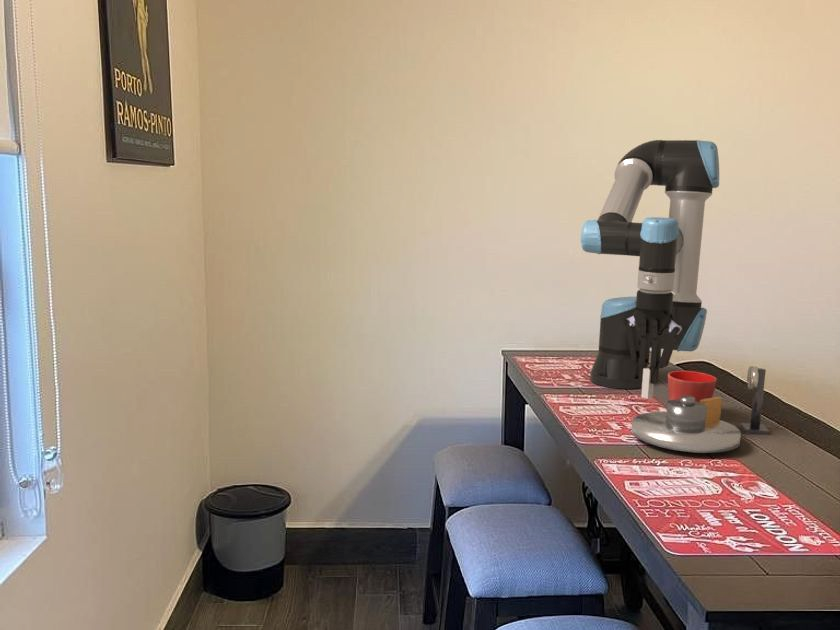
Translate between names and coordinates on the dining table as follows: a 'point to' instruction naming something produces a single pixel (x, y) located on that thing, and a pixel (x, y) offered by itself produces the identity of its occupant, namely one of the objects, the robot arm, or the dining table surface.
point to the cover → (686, 415)
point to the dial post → (756, 401)
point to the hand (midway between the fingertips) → (647, 396)
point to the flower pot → (691, 385)
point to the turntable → (710, 441)
